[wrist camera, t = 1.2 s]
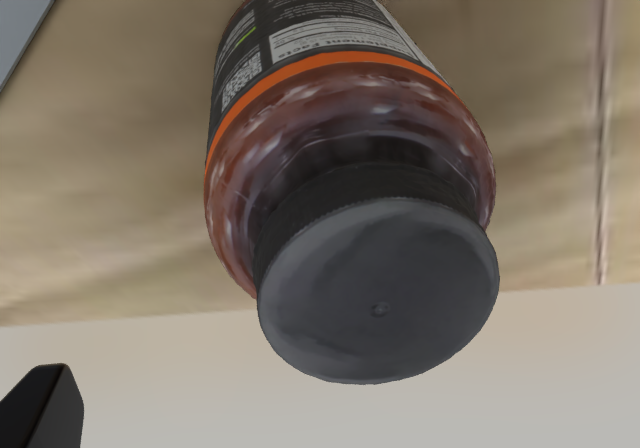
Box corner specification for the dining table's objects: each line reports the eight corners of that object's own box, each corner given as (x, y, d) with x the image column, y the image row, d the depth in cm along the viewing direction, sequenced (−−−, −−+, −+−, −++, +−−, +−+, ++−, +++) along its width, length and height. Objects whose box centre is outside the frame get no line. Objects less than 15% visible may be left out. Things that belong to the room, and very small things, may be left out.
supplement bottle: (369, 162, 21) (472, 437, 11) (202, 132, 19) (169, 418, 10) (427, -7, 17) (635, 186, 8) (233, -57, 16) (224, 107, 7)
